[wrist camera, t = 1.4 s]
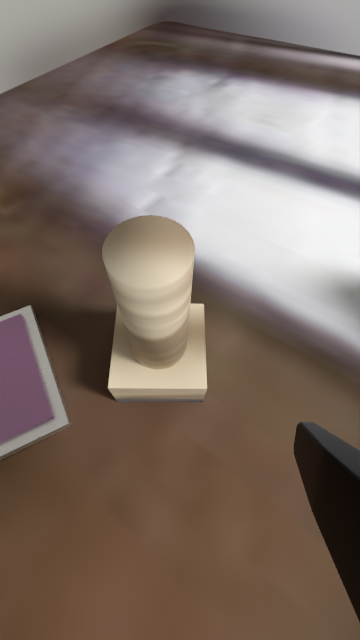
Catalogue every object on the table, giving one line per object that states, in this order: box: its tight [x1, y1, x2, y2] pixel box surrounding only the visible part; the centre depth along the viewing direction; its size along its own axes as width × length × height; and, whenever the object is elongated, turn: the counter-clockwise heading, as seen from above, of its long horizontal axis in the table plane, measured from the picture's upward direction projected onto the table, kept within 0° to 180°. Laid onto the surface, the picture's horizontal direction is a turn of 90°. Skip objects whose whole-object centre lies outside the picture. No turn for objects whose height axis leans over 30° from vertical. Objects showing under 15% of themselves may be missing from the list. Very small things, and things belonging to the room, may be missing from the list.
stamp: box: [102, 215, 207, 402], centre depth 18 cm, size 6×6×12 cm
